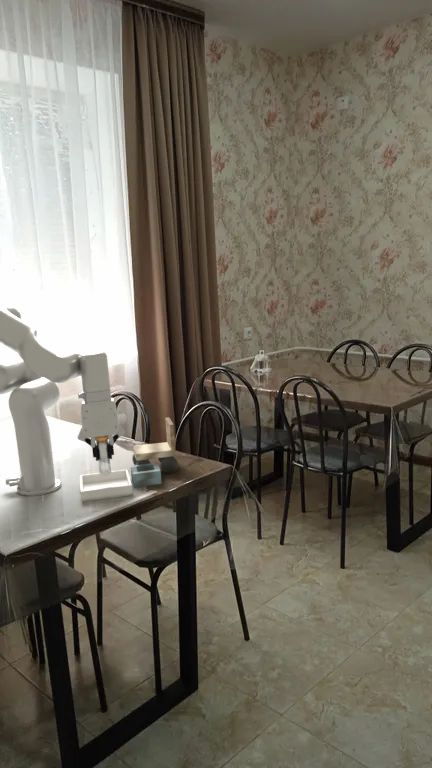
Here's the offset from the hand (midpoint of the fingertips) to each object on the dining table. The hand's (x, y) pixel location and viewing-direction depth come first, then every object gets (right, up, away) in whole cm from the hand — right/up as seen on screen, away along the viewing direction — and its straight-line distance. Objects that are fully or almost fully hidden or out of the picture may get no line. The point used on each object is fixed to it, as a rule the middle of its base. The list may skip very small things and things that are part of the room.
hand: (103, 458), depth 180 cm
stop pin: (0, -5, +1) cm, 5 cm away
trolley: (+13, -6, +13) cm, 20 cm away
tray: (0, -9, +2) cm, 10 cm away
